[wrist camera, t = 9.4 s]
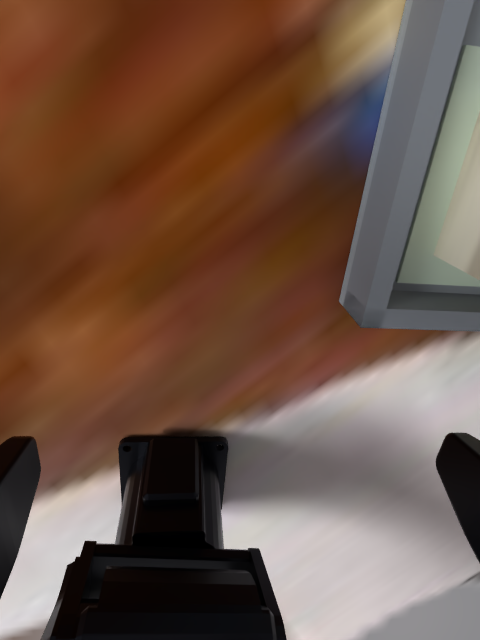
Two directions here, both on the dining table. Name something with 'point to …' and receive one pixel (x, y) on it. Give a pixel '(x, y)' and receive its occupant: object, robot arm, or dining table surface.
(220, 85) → the dining table surface
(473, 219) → the birch block
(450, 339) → the dining table surface
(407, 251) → the corner arena
